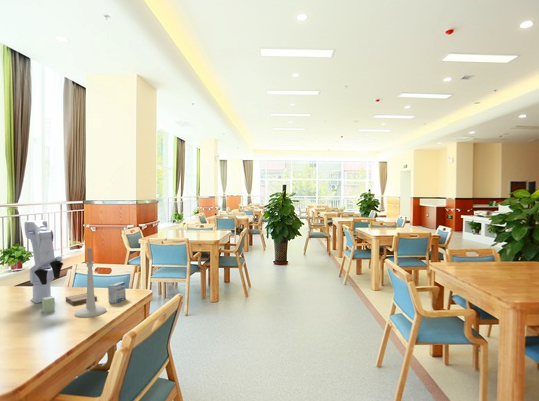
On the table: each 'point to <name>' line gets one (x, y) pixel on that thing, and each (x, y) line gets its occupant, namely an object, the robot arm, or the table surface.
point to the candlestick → (90, 293)
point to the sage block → (48, 304)
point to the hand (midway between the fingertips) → (50, 281)
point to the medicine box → (116, 292)
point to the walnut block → (78, 299)
